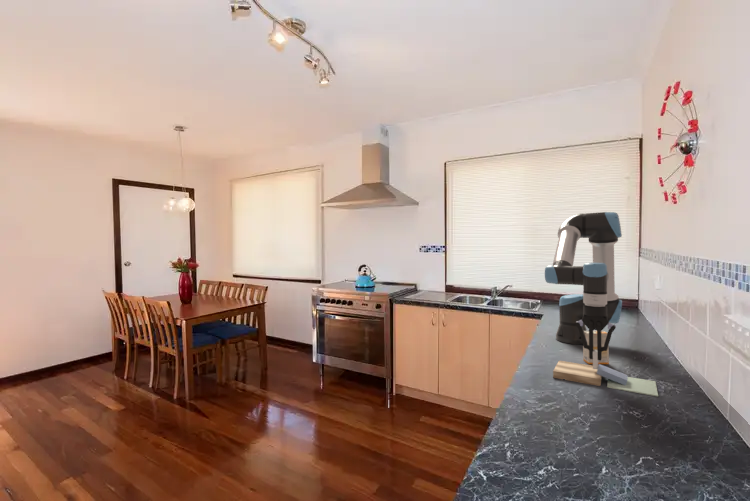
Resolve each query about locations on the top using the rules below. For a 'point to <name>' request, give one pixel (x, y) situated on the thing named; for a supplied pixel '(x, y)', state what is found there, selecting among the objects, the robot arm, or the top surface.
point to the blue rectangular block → (612, 374)
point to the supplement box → (604, 353)
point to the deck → (577, 373)
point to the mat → (635, 386)
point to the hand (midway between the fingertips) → (595, 368)
